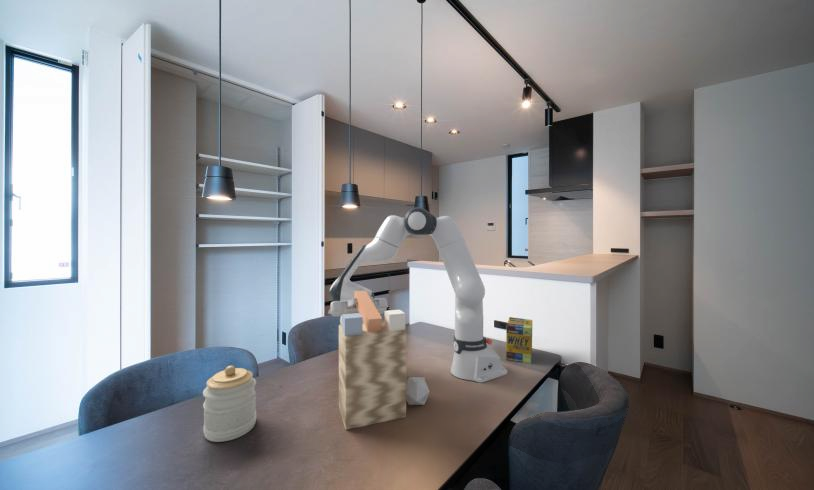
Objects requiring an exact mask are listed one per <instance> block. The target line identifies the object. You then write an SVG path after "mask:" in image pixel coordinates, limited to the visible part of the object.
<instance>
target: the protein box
mask: <svg viewBox="0 0 814 490" xmlns="http://www.w3.org/2000/svg"><path fill="white" fill-rule="evenodd" d="M505 334H506V335H505V336H506V337H505V340H506V341H505V346H506V348H505V360H506V361H509V362H517V363H524V364H529V365H531V364H532V354H533V352H532V351H533V319H529V318H520V317H512V316H511V317H509V318H508V320H507V324H506V333H505Z"/></svg>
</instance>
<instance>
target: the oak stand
mask: <svg viewBox="0 0 814 490" xmlns="http://www.w3.org/2000/svg"><path fill="white" fill-rule="evenodd" d="M406 383H407V330H406V329H405V330H399V331H390V332H389V331H388V330H387V329H386V328H385V327H384V320H382V327H381V331H372V332H368V331H367V329H366V326H365V324H364V322H363V334H362V335H353V336H344V334H343V332H342V325H341V324H339V325H338V409H339V411H340V415H341V416H340V417H341V418H342V422H343V426H344V429H345V431H347V430H351V429H355V428H361V427H366V426H369V425H373V424H379V423H384V422H389V421H393V420H398V419H403V418H407V399H406Z"/></svg>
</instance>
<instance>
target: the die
mask: <svg viewBox="0 0 814 490" xmlns="http://www.w3.org/2000/svg"><path fill="white" fill-rule="evenodd" d="M429 394H430V390H429V387H428V383H427V381H426V379H425V377H424V376H423V377H421V376H420V377H419V376H415V377H413V376H411V377H410V376H408V377H407V379H406V403H407V404H408V406H424V405H425V404H426V402H427V400H428V398H429V397H428V396H429Z"/></svg>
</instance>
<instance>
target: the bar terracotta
mask: <svg viewBox="0 0 814 490" xmlns="http://www.w3.org/2000/svg"><path fill="white" fill-rule="evenodd" d="M354 298H357V304H355V305H356V307H357V309H358V311H359V314H360V315H361V316H362V317H363V323H364V324H365V326H366V329H367V331H368V332H372V331H381V327H382V321H383V318H382V316H381V315H382V314H379V312H378V310H377V309H376V307H375V305H374V304H373V302H372V300H371V299H370V297H369V295H368V293H367V292H366V291H355V292H354Z"/></svg>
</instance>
